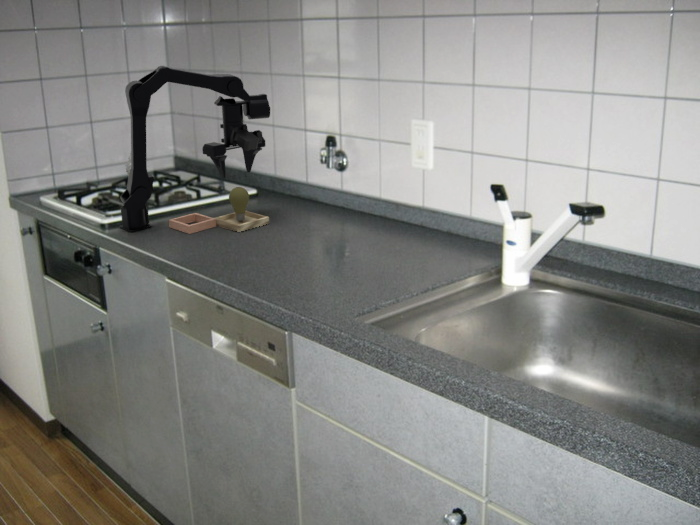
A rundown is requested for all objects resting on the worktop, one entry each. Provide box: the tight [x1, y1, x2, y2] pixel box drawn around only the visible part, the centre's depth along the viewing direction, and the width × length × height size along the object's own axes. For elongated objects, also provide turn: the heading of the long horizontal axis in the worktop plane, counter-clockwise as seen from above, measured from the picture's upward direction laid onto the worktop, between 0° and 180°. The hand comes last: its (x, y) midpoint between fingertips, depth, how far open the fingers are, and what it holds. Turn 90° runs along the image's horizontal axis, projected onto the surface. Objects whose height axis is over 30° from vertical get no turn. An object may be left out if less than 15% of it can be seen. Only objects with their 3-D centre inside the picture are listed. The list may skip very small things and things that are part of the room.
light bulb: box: [228, 186, 250, 222], centre depth 215 cm, size 6×6×10 cm
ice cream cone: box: [125, 152, 131, 177], centre depth 245 cm, size 5×5×15 cm
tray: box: [214, 210, 270, 233], centre depth 217 cm, size 11×11×2 cm
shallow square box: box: [168, 212, 217, 235], centre depth 215 cm, size 9×9×2 cm
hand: (236, 175), depth 222 cm, fingers open, 9 cm apart
